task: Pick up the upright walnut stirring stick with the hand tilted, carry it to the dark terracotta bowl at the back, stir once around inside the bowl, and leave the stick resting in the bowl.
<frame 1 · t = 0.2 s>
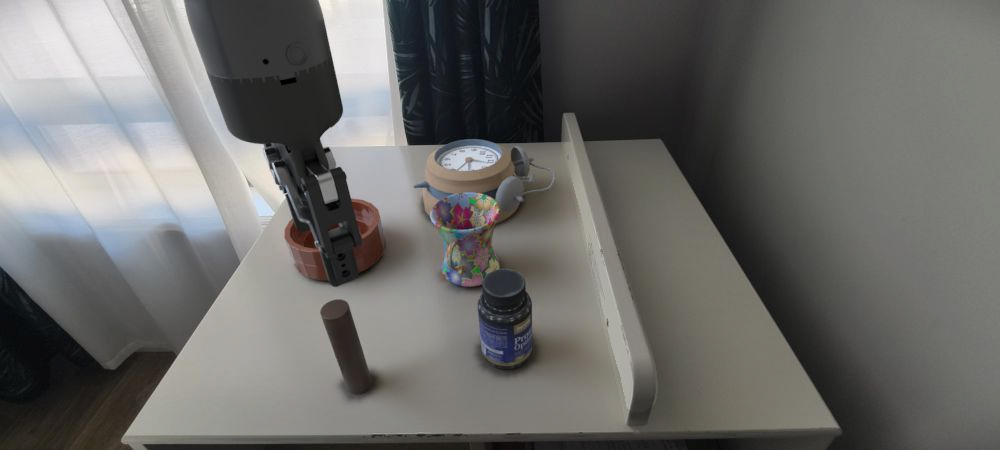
hand: (326, 252, 41), 22 cm above the table, tool pointing down, fingers open, 8 cm apart
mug: (468, 278, 70), on the table
stick: (359, 383, 56), on the table
pill bottle: (507, 351, 59), on the table
bowl: (342, 254, 76), on the table
alarm clock: (488, 203, 86), on the table
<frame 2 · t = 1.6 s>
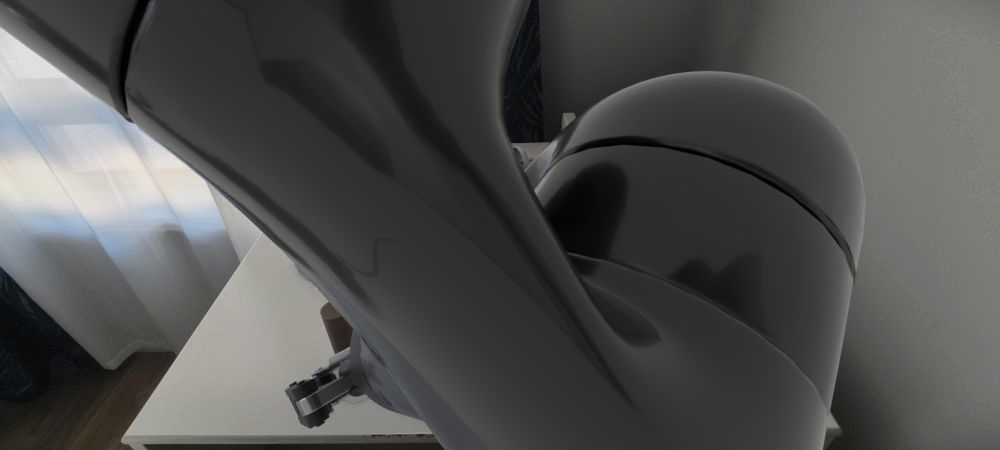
hand: (378, 353, 39), 16 cm above the table, tool tilted 45°, fingers open, 8 cm apart
nothing on the table moved.
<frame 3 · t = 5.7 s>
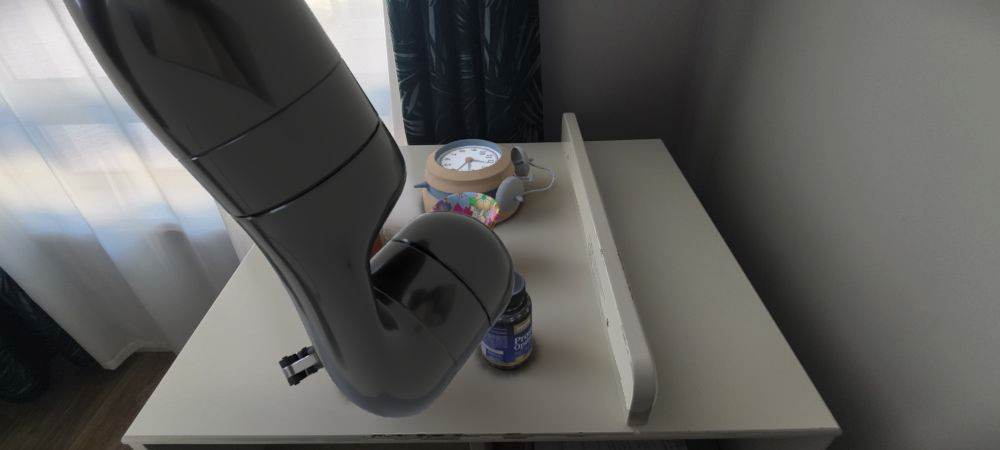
hand: (341, 342, 54), 5 cm above the table, tool tilted 45°, fingers closed on stick, 3 cm apart
stick: (359, 383, 56), on the table, touching gripper
everything else where it was.
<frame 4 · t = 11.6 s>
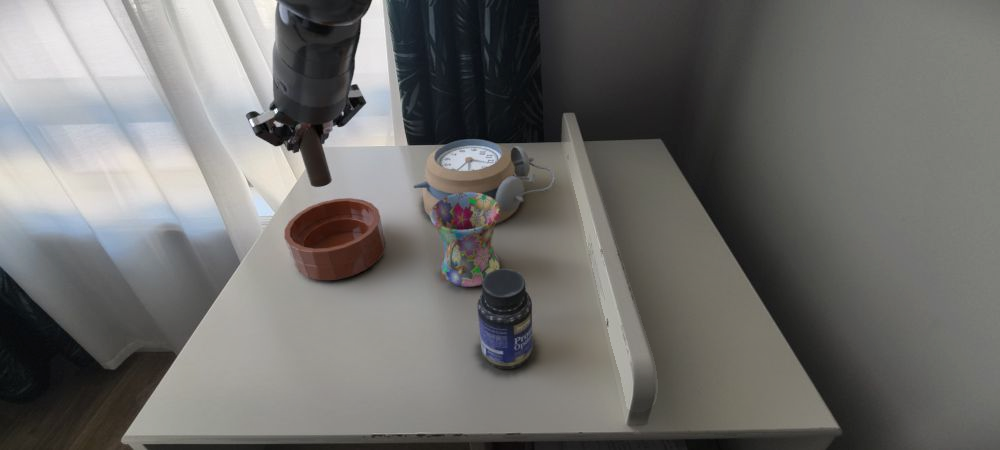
hand: (305, 142, 65), 19 cm above the table, tool tilted 45°, fingers closed on stick, 3 cm apart
stick: (321, 181, 66), point 14 cm above the table, touching gripper
everything else where it was.
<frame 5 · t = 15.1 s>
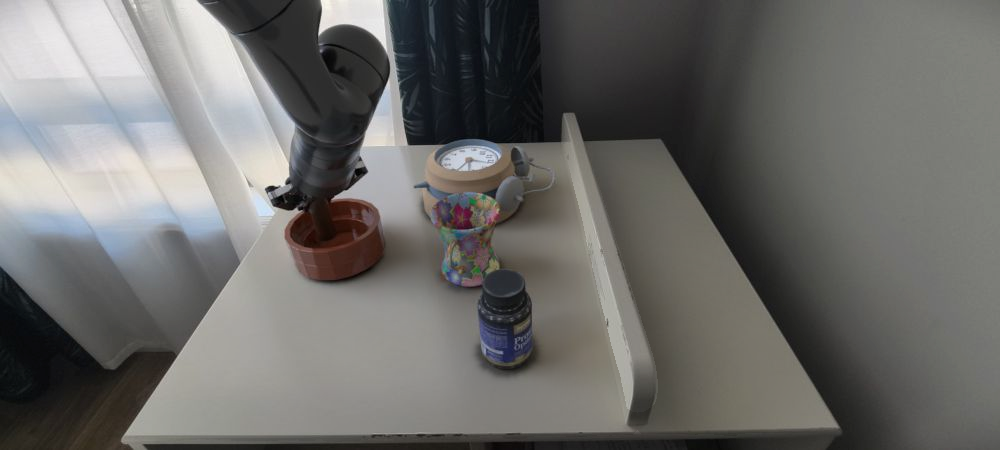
hand: (313, 201, 73), 8 cm above the table, tool tilted 45°, fingers closed on stick, 3 cm apart
stick: (327, 235, 75), point 3 cm above the table, touching gripper
everything else where it was.
when the fingers open (6 cm above the table, at t = 17.7 s): stick stays where it is, resting on bowl.
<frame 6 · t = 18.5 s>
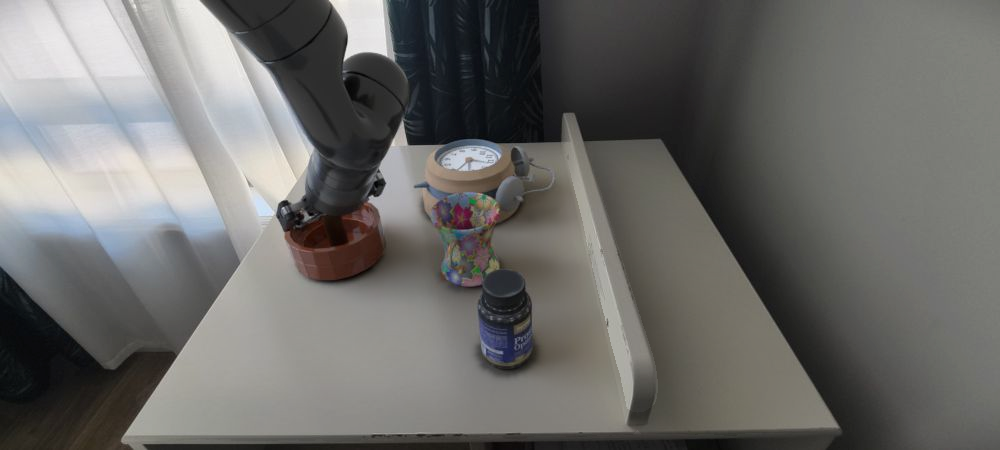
hand: (327, 214, 73), 7 cm above the table, tool tilted 45°, fingers open, 8 cm apart
stick: (341, 250, 75), point 1 cm above the table, touching bowl
everything else where it was.
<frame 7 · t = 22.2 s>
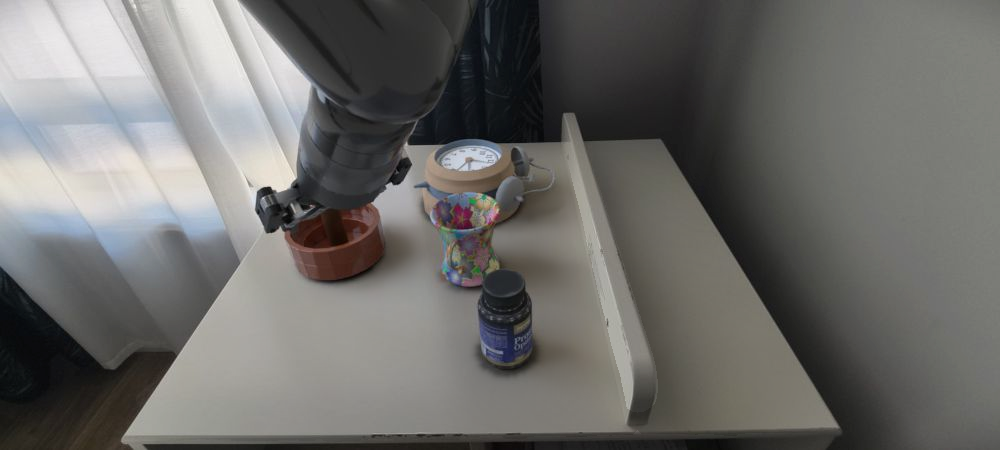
hand: (328, 209, 53), 18 cm above the table, tool tilted 45°, fingers open, 8 cm apart
nothing on the table moved.
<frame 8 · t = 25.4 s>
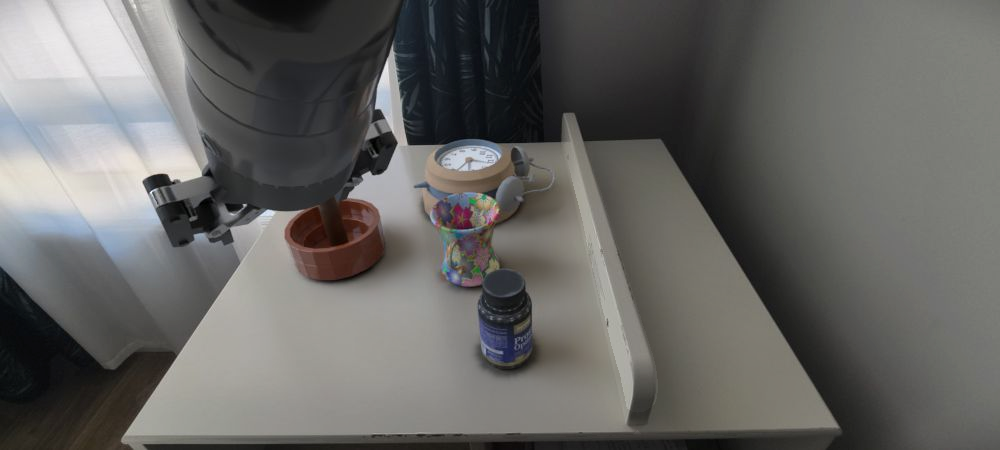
hand: (282, 209, 37), 27 cm above the table, tool tilted 45°, fingers open, 8 cm apart
nothing on the table moved.
at the end: stick inside the target area in the bowl (0.1 cm from its centre), point 0.8 cm above the bowl's base; the gripper is holding nothing; stick moved 25.3 cm from its start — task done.
